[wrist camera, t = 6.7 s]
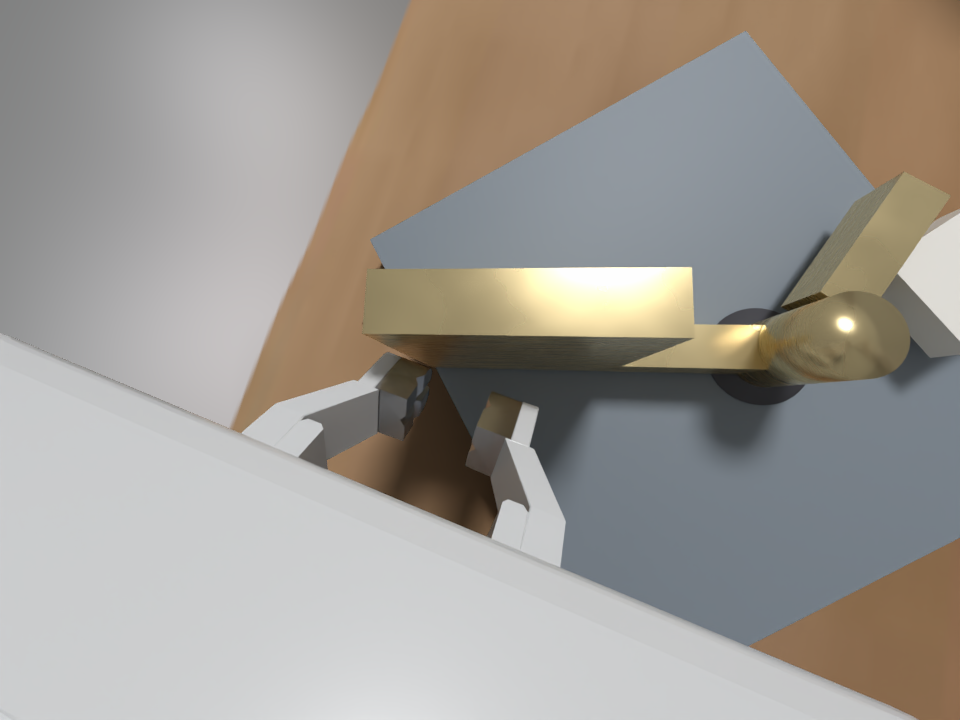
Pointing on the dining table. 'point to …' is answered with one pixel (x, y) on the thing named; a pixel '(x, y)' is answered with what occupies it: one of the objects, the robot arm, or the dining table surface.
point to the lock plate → (698, 396)
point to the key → (668, 310)
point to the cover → (932, 289)
